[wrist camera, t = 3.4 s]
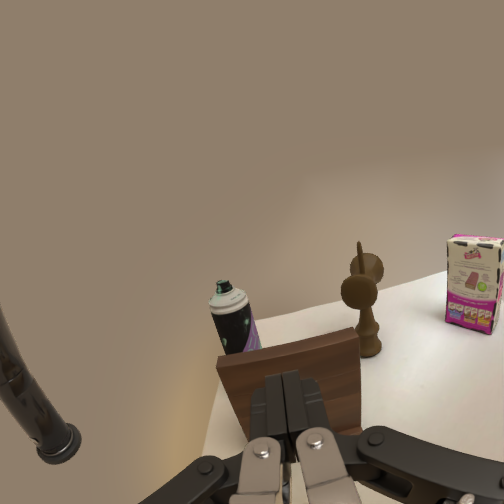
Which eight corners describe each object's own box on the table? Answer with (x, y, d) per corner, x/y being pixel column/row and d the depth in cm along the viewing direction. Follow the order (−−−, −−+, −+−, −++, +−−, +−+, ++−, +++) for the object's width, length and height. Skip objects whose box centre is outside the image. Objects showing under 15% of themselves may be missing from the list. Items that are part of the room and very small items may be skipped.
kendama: (387, 334, 46) (380, 230, 42) (380, 367, 39) (374, 250, 34) (357, 334, 50) (345, 234, 45) (345, 366, 42) (332, 253, 37)
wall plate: (362, 437, 27) (362, 341, 23) (254, 460, 28) (214, 373, 24) (348, 398, 35) (340, 305, 31) (254, 418, 36) (222, 331, 32)
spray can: (239, 403, 40) (198, 292, 35) (242, 381, 45) (207, 278, 40) (273, 398, 39) (239, 284, 34) (273, 377, 45) (243, 270, 40)
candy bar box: (498, 321, 35) (506, 237, 31) (491, 336, 33) (502, 247, 29) (453, 310, 45) (455, 232, 41) (443, 322, 43) (445, 240, 39)
